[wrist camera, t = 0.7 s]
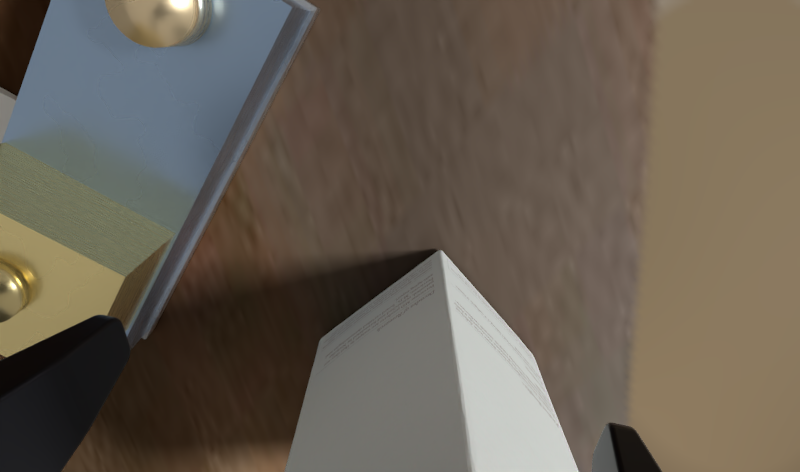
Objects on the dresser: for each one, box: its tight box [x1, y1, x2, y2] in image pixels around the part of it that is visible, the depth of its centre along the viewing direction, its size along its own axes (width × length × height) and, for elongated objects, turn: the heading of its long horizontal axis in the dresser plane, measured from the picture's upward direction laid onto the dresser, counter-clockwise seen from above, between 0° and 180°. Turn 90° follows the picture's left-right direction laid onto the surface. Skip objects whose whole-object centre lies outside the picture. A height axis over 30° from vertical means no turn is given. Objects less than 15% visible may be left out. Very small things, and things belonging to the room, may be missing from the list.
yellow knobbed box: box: [0, 142, 175, 357], centre depth 17 cm, size 4×6×4 cm
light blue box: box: [2, 0, 320, 351], centre depth 19 cm, size 16×6×6 cm, turn 148°
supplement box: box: [285, 250, 579, 472], centre depth 19 cm, size 7×7×13 cm
